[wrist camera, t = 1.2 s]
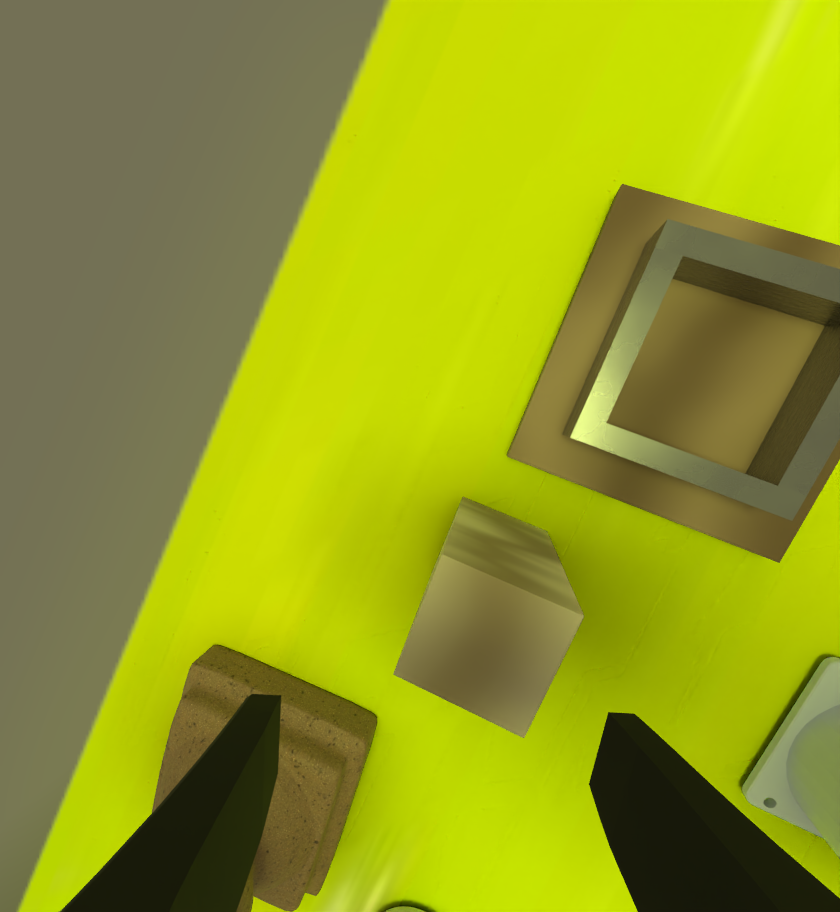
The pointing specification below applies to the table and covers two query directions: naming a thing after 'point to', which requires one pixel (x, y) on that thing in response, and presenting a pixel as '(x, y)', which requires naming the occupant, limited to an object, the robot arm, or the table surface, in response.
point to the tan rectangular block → (492, 619)
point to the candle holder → (299, 768)
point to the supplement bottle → (404, 909)
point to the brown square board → (678, 377)
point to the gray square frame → (752, 280)
